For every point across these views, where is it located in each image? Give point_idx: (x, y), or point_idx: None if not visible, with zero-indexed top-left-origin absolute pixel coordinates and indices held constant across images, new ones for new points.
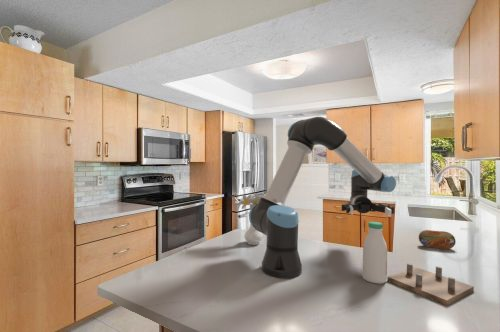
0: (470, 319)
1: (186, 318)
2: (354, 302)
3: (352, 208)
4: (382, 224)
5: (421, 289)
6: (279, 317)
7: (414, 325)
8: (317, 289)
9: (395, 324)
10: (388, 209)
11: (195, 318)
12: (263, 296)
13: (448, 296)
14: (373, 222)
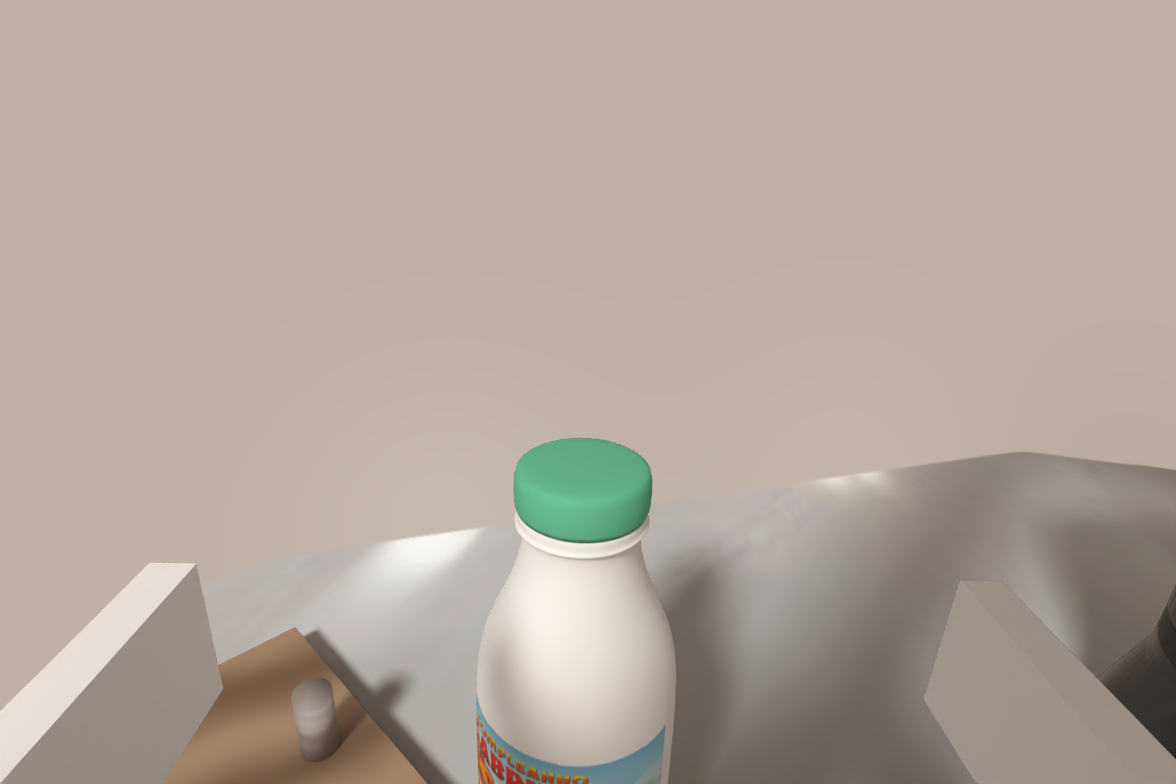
0: (291, 582)
1: (1071, 463)
2: (694, 590)
3: (974, 588)
4: (524, 455)
5: (343, 699)
6: (885, 496)
7: None
8: (869, 644)
9: None
10: (154, 613)
11: (1055, 466)
12: (1015, 559)
13: (248, 661)
14: (602, 469)
